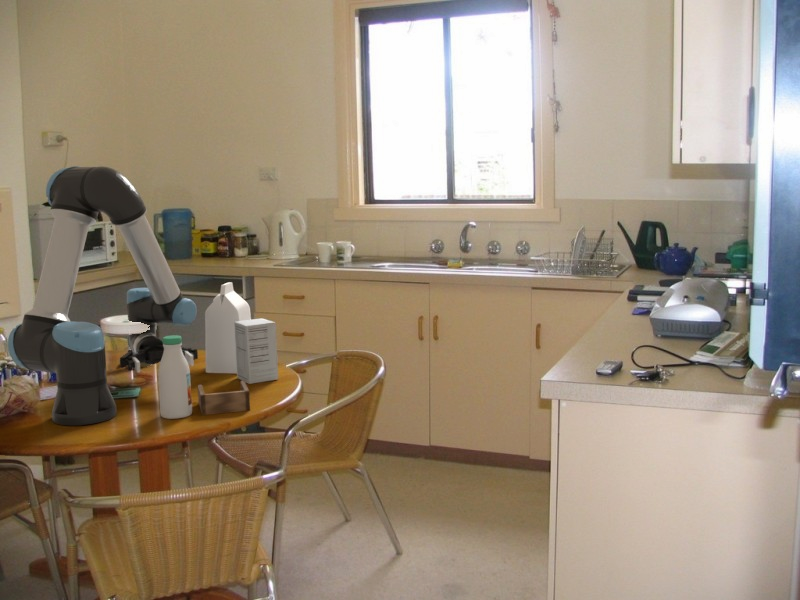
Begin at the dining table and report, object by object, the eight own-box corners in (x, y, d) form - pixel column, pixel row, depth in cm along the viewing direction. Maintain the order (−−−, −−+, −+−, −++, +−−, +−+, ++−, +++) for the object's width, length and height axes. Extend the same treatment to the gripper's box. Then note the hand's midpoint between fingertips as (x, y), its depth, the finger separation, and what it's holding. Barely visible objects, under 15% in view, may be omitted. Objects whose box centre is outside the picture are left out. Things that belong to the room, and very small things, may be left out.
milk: (242, 373, 265) (238, 286, 261) (205, 372, 267) (201, 286, 263) (255, 364, 277) (251, 280, 273) (219, 363, 279) (215, 280, 275)
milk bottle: (184, 420, 219) (179, 340, 216) (155, 419, 221) (150, 339, 217) (197, 411, 226) (193, 333, 223) (169, 410, 228) (164, 333, 225)
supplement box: (279, 379, 257) (276, 322, 254) (249, 384, 252) (246, 326, 249) (265, 373, 265) (263, 317, 262) (236, 377, 260) (233, 320, 257)
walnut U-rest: (201, 414, 223) (200, 395, 222) (198, 403, 234) (197, 384, 233) (250, 410, 227) (249, 391, 226) (245, 399, 237) (244, 380, 236)
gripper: (195, 356, 255) (214, 372, 236) (104, 367, 244) (116, 384, 226) (193, 330, 254) (212, 344, 235) (102, 340, 243) (114, 355, 224)
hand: (165, 364), depth 230 cm, fingers open, 13 cm apart
